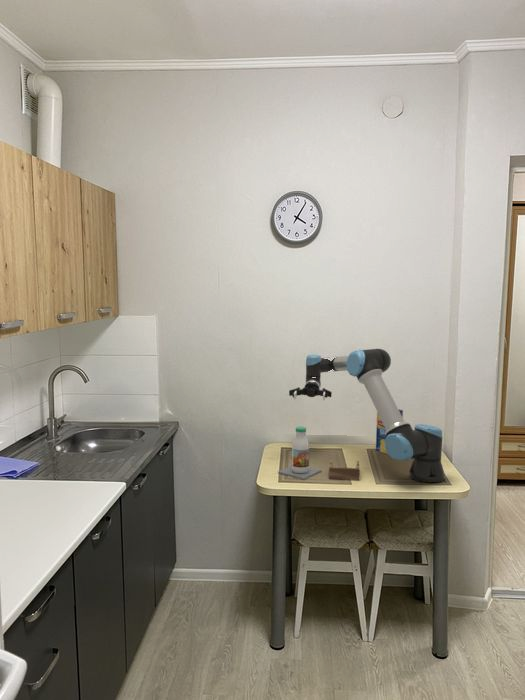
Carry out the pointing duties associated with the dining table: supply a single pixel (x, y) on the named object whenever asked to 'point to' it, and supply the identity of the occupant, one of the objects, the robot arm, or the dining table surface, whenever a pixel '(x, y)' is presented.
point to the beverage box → (382, 434)
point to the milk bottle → (300, 452)
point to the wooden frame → (343, 472)
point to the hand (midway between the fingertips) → (309, 396)
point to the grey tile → (303, 476)
